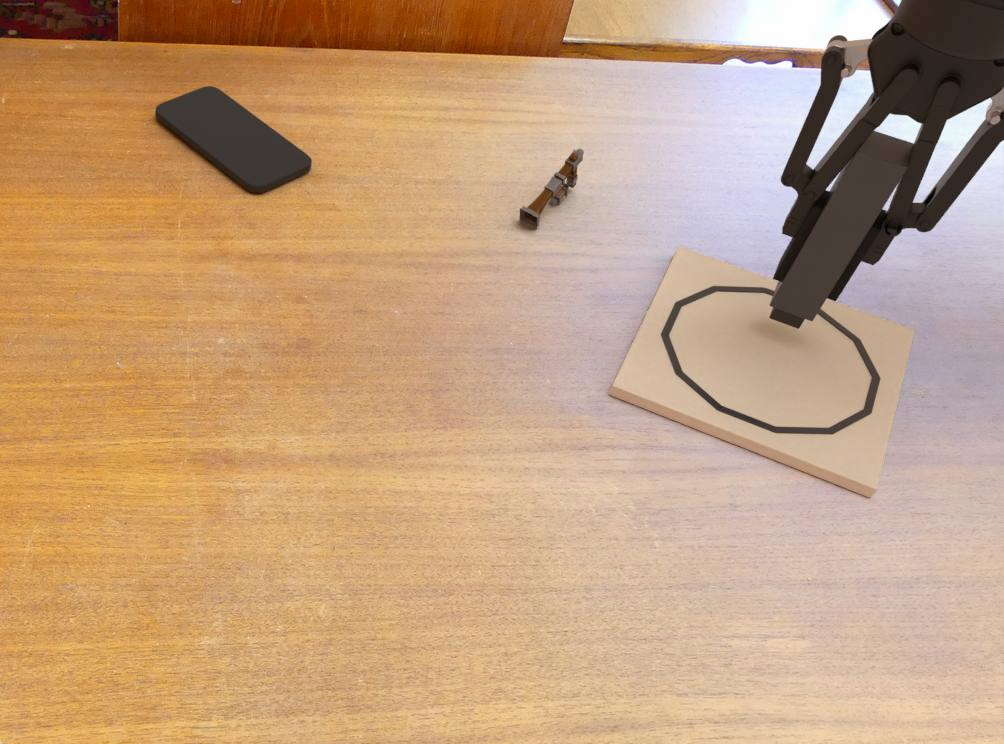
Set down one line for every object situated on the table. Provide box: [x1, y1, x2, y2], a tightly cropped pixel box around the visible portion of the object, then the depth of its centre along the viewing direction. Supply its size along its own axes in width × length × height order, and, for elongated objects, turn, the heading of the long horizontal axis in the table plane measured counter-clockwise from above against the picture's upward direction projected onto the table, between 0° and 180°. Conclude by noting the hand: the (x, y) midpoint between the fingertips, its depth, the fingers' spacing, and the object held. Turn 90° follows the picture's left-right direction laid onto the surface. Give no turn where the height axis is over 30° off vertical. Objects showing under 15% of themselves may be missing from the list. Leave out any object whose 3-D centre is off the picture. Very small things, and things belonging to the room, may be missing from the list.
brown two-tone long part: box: [518, 147, 585, 230], centre depth 98 cm, size 2×8×4 cm, turn 140°
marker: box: [769, 130, 914, 329], centre depth 82 cm, size 3×3×15 cm
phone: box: [155, 85, 313, 194], centre depth 101 cm, size 7×1×15 cm
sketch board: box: [608, 245, 916, 499], centre depth 88 cm, size 20×20×1 cm
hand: (807, 279), depth 85 cm, fingers closed on marker, 3 cm apart
